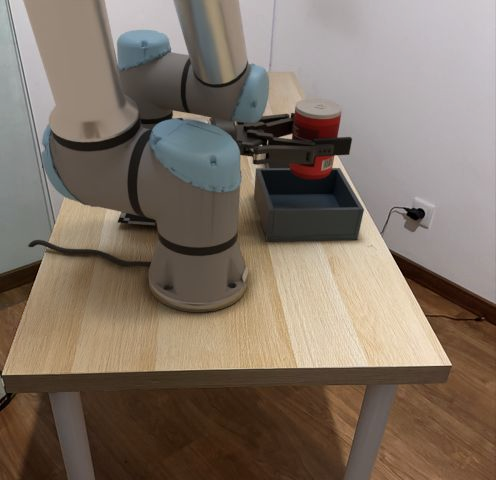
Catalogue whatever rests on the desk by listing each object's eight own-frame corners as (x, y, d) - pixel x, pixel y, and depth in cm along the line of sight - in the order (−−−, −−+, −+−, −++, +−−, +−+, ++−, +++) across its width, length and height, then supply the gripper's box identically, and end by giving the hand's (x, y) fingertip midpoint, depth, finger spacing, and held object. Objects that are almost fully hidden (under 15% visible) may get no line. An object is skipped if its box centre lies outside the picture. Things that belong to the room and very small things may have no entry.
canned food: (331, 162, 98) (341, 99, 90) (332, 182, 92) (342, 116, 84) (289, 158, 98) (296, 95, 91) (287, 178, 92) (294, 112, 85)
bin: (266, 241, 94) (269, 210, 90) (253, 197, 106) (255, 168, 102) (357, 239, 96) (364, 209, 92) (334, 196, 108) (339, 167, 104)
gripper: (199, 139, 97) (318, 133, 102) (222, 193, 83) (359, 183, 87) (199, 95, 92) (324, 91, 97) (223, 145, 78) (368, 138, 82)
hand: (340, 135), depth 92 cm, fingers closed on canned food, 8 cm apart
